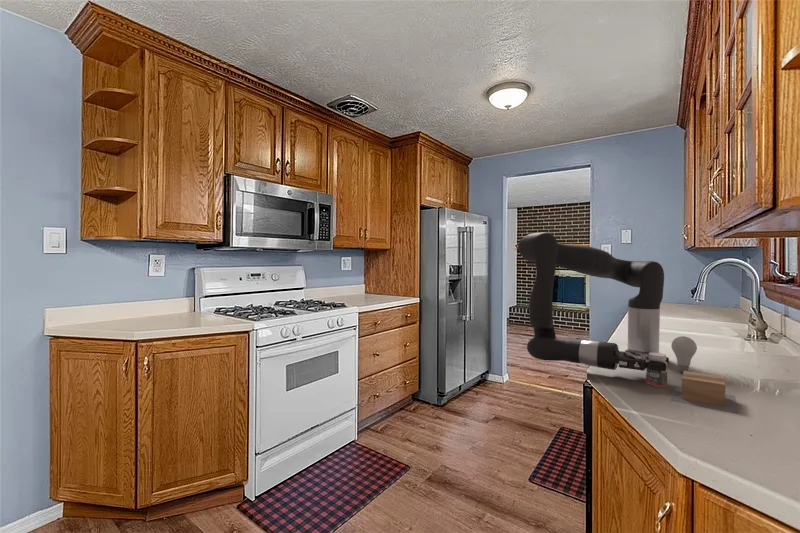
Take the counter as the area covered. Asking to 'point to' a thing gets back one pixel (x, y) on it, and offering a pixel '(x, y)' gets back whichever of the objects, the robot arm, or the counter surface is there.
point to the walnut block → (703, 388)
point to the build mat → (729, 403)
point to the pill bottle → (657, 371)
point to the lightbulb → (683, 352)
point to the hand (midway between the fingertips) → (667, 364)
